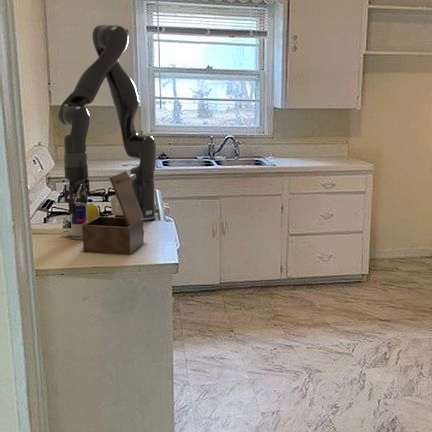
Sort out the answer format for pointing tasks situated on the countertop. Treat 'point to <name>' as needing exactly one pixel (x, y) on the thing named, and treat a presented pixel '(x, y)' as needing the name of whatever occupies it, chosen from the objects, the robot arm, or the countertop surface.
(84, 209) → the energy drink
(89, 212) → the lemon
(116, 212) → the character mug
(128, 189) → the lid
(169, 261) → the countertop surface
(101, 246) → the compartment
